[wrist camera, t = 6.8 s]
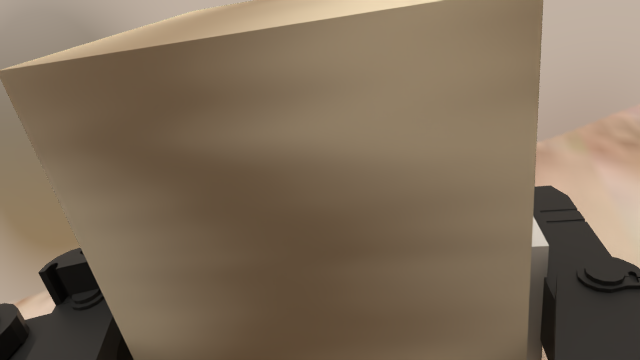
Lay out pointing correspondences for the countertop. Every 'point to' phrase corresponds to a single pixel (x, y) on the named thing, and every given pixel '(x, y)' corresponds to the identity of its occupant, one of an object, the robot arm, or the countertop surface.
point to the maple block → (302, 176)
